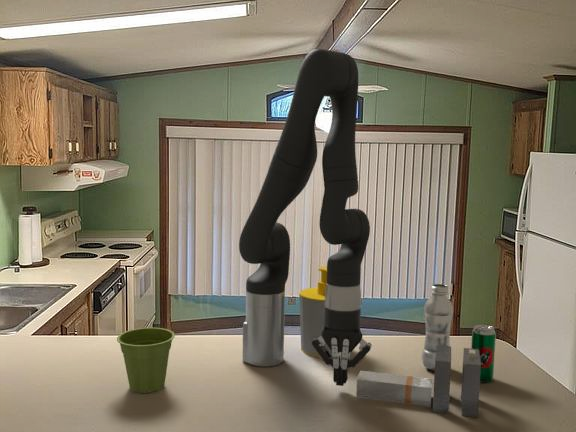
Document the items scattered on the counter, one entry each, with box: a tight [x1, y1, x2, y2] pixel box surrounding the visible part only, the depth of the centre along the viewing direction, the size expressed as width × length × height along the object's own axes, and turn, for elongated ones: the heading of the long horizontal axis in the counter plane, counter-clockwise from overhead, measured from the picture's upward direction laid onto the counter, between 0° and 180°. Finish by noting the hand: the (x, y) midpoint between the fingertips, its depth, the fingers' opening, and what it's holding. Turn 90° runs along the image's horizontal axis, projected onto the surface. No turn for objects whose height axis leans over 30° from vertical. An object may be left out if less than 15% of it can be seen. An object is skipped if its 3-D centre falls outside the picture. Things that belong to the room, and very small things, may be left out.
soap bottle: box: [298, 266, 342, 358], centre depth 152 cm, size 13×13×21 cm
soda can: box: [470, 324, 497, 383], centre depth 135 cm, size 5×5×12 cm
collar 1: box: [432, 345, 452, 414], centre depth 122 cm, size 3×9×10 cm, turn 165°
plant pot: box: [116, 327, 176, 394], centre depth 127 cm, size 12×12×11 cm
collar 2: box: [460, 347, 481, 418], centre depth 121 cm, size 3×9×12 cm, turn 165°
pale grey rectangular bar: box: [355, 370, 433, 408], centre depth 125 cm, size 15×5×4 cm, turn 75°
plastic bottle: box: [421, 283, 454, 371], centre depth 140 cm, size 6×7×20 cm
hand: (340, 384), depth 128 cm, fingers closed
